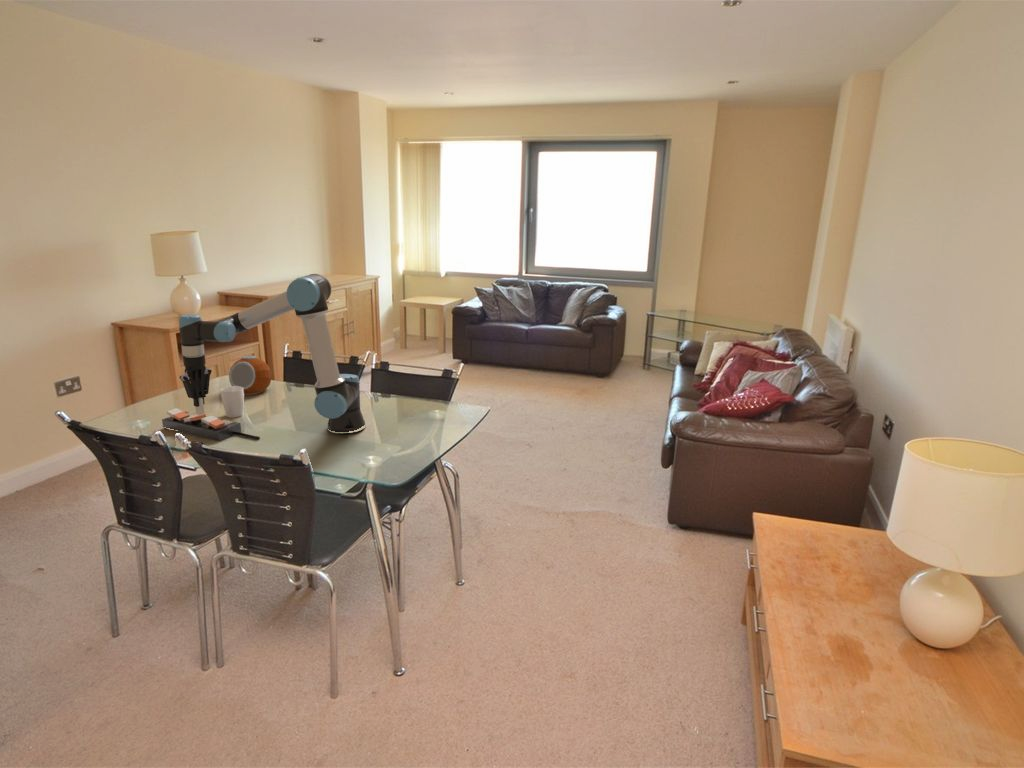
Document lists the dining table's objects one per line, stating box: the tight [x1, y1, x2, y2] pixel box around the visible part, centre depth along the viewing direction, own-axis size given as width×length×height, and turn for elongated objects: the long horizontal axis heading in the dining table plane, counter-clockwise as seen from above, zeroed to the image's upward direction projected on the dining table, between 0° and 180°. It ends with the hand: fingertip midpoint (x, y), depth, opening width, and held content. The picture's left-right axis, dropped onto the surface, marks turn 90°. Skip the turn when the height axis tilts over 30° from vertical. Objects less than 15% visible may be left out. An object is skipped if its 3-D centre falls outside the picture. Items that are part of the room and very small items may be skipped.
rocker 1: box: [166, 407, 189, 421], centre depth 241 cm, size 7×4×1 cm, turn 68°
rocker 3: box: [202, 415, 225, 429], centre depth 234 cm, size 7×4×1 cm, turn 68°
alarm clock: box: [228, 355, 272, 395], centre depth 291 cm, size 19×18×17 cm
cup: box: [220, 385, 245, 419], centre depth 258 cm, size 9×9×12 cm
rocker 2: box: [184, 413, 207, 422], centre depth 237 cm, size 7×4×1 cm, turn 68°
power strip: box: [161, 411, 261, 442], centre depth 239 cm, size 42×11×5 cm, turn 68°
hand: (200, 413), depth 236 cm, fingers closed
